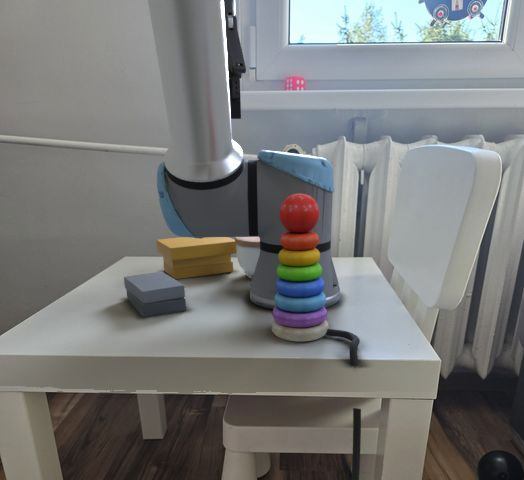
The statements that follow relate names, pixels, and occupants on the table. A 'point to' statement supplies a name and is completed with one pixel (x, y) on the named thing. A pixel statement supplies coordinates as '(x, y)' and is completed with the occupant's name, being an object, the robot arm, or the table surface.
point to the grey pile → (155, 294)
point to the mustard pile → (198, 266)
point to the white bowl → (248, 253)
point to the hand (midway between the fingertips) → (219, 120)
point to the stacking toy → (299, 274)
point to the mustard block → (195, 247)
